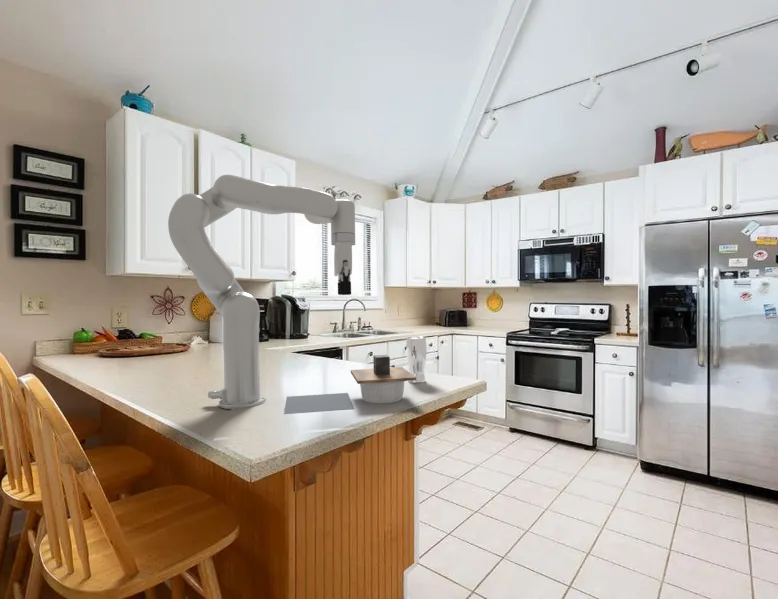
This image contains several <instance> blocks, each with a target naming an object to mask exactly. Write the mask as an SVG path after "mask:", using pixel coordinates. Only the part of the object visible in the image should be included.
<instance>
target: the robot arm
mask: <svg viewBox="0 0 778 599" xmlns="http://www.w3.org/2000/svg"><path fill="white" fill-rule="evenodd" d="M237 208H238V209H241V210H247V211H253V212H257V213H262V214H265V215H266V214H267V215H281V214H302V215H304V218H305V219H306V220H307V221H308V222H310V223H311V224H314V225H322V224H323V225H324V224H330V236H331V237H330V240H331V242H330V243H331V244H330V245H331V246H334V249H333V250H334V251H333V252H334V253H333V254H334V256H333V258H334V259H333V262H334V266H333V268H334V271H333V272H334V273H333V274H334V276H335V277H338V278H337V281H338V282H337V294H338V295H339V296H350V295H351V296H352V281H351V275H352V274H353V248H352V247H353V246H356V212H355V211H356V210H355V209H356V206H355V203H354V202H353V201H352V200H350V199H345V198H344V199H342V198H340V199H336V198H335V197H334V196H332V195H331V194H330V193H328V192H323V191H319V190H315V189H312V188H308V187H307V188H306V187H301V186H291V185H290V186H289V185H278V184H271V183H267V182H263V181H259V180H255V179H250V178H246V177H243V176H239V175H238V176H237V175H233V174H222V175H220V176H219V177H218V178H216V180H215V181H214V184H213V185H212V187H211V188H209V189H207V190H206V191H204V192H203V193H201V194H199V195H198V194H196V193H184V194H182V195H181V196H180V197H177V199H176V201H175V202H174V204H173V206H172V207H171V210H170V212H169V214H168V215H169V216H168V221H167V225H168V234H169V238H170V240H171V243H172V246H173V247H174V248H175V250H176V252H177V253H178V254H179V256H180V257H181V259H182V260H183V261H184V263H185V264H186V266H187V267H188V268H189V270H190V271H191V272H192V273H193V275H194V277H195V278H196V282H197V285H198V287H199V288H200V289H201V291H202V292H203V294H204V295H205V296H206V298H207V299H208V300H209V301H210V302H211V304H212V305H213V307H214V308H215V309H216V310H217V311H218V312H219V315H221V317H222V324H223V325H222V326H223V327H222V340H223V341H222V344H223V346H222V347H223V348H222V351H223V380H224V382H223V383H224V384H223V385H224V387H223V389H220V390H209V391H207V392H208V393H207V396H208V398H209V399H211V400H215V399H220V400H219V401H218V407H220V408H221V409H225V410H233V409H243V408H244V409H245V408H252V407H257V406H259V405H262V404H265V403H266V401H267V398H266V396H265V395H263V394H261V380H260V379H261V376H260V372H261V371H260V335H259V334H260V321H261V320H260V319H261V318H260V317H261V312H260V311H261V309H260V305H259V302H258V300H257V299H256V298H255V296H253V294H250V293H249V292H245V290H244V288H242V286H241V285H240V284H239V282H238V281H237V279H236V278H235V272H234V271H233V269H232V268H231V267H230V265H229V264H228V263H227V262H226V261H225V259H224V258H223V257H222V255H221V254H220V253H219V252H218V251H217V249H216V247H215V246H214V244H213V243H212V241H211V239H209V237H208V236H207V233H206V230H205V228H206V227H208V226H210V225H211V224H213V223H215V222H217V221H218V220H220V219H222V218H223V217H224V216H227V215H228V214H230V213H231V212H232V211H234V210H235V209H237Z"/></svg>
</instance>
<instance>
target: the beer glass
mask: <svg viewBox="0 0 778 599" xmlns="http://www.w3.org/2000/svg"><path fill="white" fill-rule="evenodd" d="M405 344H406V347H405V351H406V361H407V364H408V365H407V366H408V372H409V373H411V374H412V375H414V376H415V377H416V380H413V381H407V382H408V383H410V384H423V383H426V376H425V367H426V360H427V353H428V352H427V338H426V337H423V336H410V337H406V343H405Z"/></svg>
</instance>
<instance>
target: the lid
mask: <svg viewBox="0 0 778 599" xmlns="http://www.w3.org/2000/svg"><path fill="white" fill-rule="evenodd" d="M372 358H373V359H372V362H373V368H362V369H350V374H351V375H352V378H354V381H355V382H356V383H357V384H358V385H360V384H365V383H381V382H397V381H405V382H408V381H413V380H416V377H415V376H414V375H412V374H411V373H409V370H406V369H405V368H404V367H402V366H401V367H400V366H399V367H391V364H390V363H391V359H390V358H391V357H390V355H388V354H380V355H379V354H377V355H373V357H372Z"/></svg>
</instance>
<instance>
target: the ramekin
mask: <svg viewBox="0 0 778 599" xmlns="http://www.w3.org/2000/svg"><path fill="white" fill-rule="evenodd" d="M405 382H406V381H397V382H381V383H365V384H359V386H360V392H361V398H362V400H363V401H365V402H366V403H370V404H392V403H396V402H399V401H401V400H402V399H403V396H404V390H405Z"/></svg>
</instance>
